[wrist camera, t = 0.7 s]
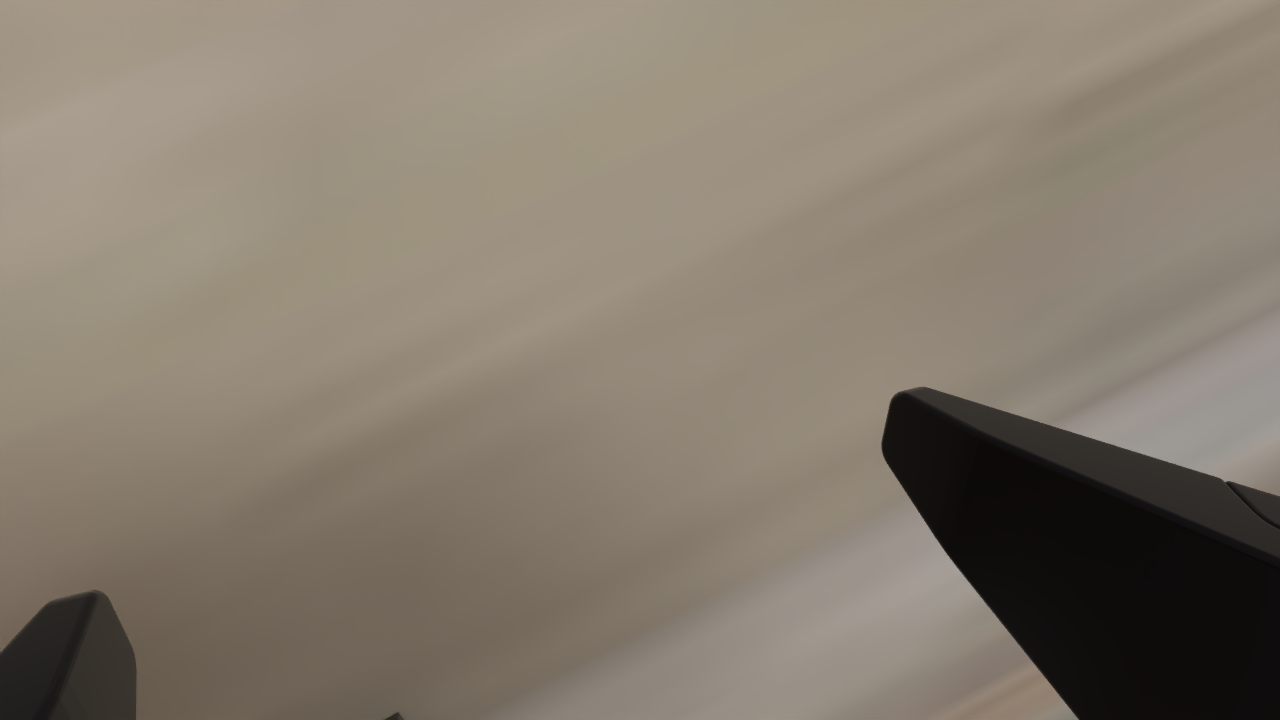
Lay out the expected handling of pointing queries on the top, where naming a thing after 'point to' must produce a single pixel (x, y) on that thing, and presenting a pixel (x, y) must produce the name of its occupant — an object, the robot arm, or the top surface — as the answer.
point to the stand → (396, 717)
